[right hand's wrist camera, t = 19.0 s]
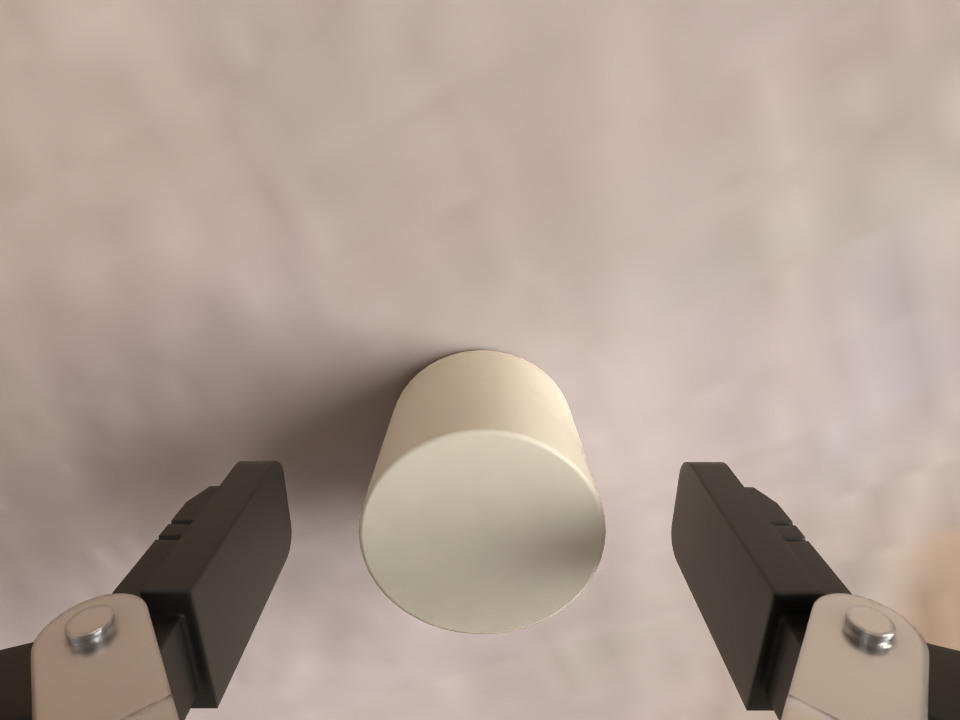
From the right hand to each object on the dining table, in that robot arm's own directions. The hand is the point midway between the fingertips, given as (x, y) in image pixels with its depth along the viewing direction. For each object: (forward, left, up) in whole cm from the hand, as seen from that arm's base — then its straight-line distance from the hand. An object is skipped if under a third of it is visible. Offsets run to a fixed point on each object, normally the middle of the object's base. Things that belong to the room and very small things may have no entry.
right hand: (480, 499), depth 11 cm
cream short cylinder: (0, 0, -3) cm, 3 cm away
